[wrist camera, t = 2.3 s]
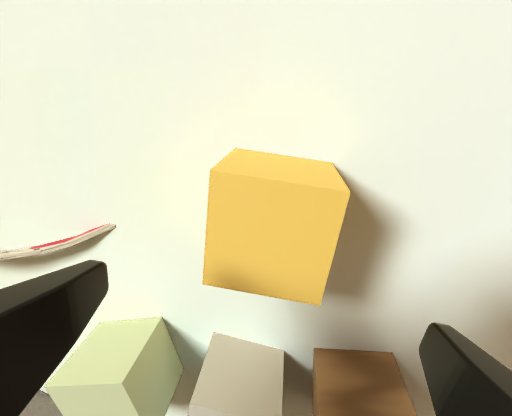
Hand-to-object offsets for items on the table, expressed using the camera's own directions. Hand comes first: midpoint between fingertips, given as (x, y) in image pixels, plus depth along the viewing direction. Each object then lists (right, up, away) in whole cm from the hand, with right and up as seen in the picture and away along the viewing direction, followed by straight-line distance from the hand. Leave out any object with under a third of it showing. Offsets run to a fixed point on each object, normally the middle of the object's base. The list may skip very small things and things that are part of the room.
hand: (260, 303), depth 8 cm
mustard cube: (+1, +3, +8) cm, 8 cm away
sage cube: (-9, -8, +13) cm, 17 cm away
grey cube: (-1, -9, +13) cm, 15 cm away
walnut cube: (+6, -9, +12) cm, 16 cm away
